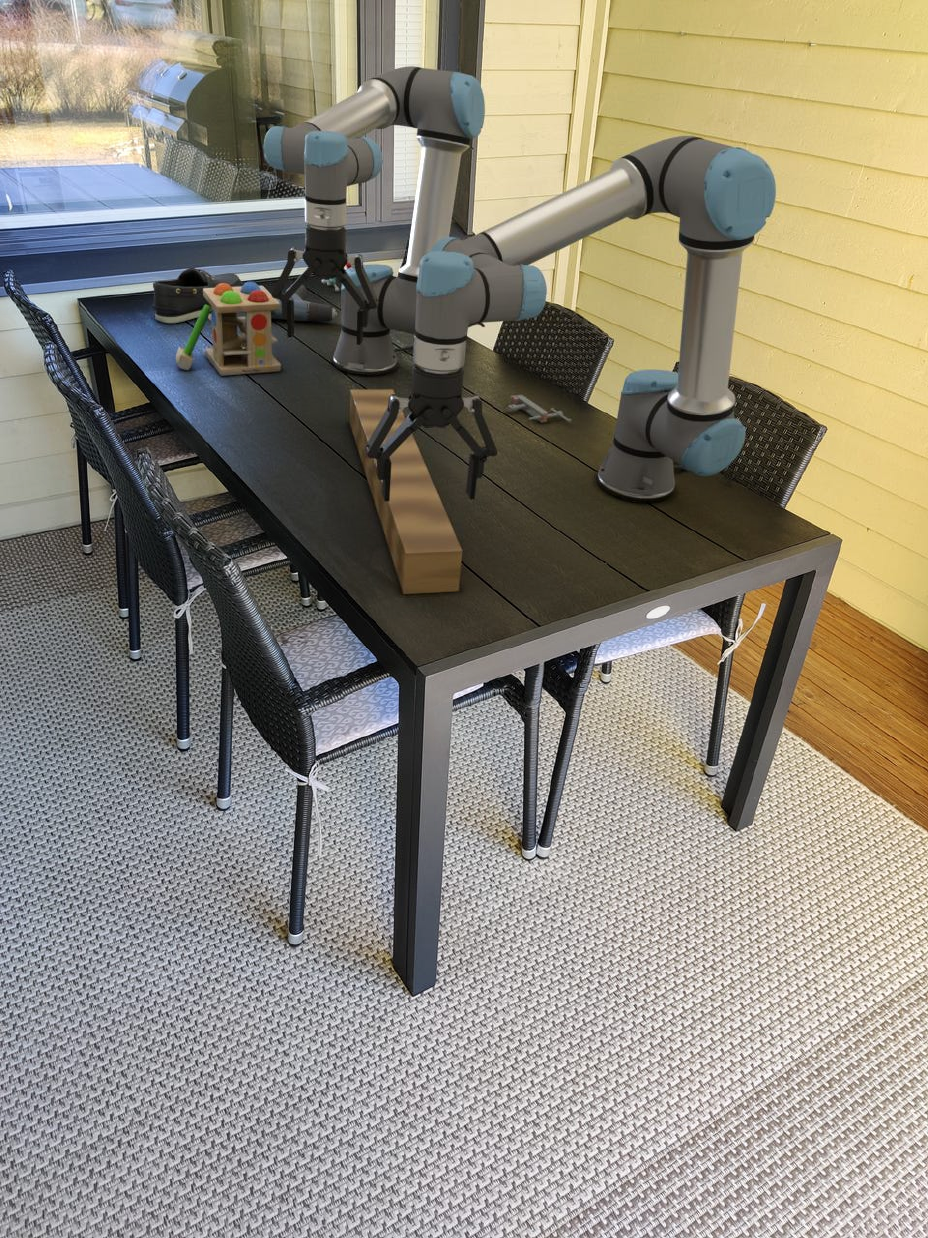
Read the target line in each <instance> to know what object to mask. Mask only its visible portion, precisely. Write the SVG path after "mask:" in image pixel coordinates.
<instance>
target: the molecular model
mask: <svg viewBox="0 0 928 1238" xmlns="http://www.w3.org/2000/svg"><path fill="white" fill-rule="evenodd" d="M345 267H346V269H345V270H347V269H349V268H351V264H350V263H347V264H346V266H345ZM336 280H337V277H335V278H333V279H321V283H322V284H327V286H329V287H330V286H332V285H333V287H334V291H335V292H337V293H338V292H339V291H340V287H339V286H337V284H336V283H337V282H336Z"/></svg>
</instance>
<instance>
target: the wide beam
mask: <svg viewBox="0 0 928 1238" xmlns="http://www.w3.org/2000/svg"><path fill="white" fill-rule="evenodd" d="M391 394H395V395H396V393H395V391H394V389H393V388H391V389H390V388H389V389H378V388H377V389H350V390H349V425H350V428H351V433H352V435H353V438H354V441H355V444H356V449H357V451H358V454H359V458H360V461H361V464H362V466H363V470H364V473H365V476H366V479H367V483H368V486H369V489H370V493H371V495H372V499H373V503H374V505H375V508H376V511H377V514H378V518H379V521H380V525H381V527H382V530H383V534H384V535H385V541H386V544H387V546H388V550H389V553H390V556H391V559H392V562H393V566H394V569H395V572H396V575H397V578H398V580H399V584H400V588H401V591H402V594H403V595H409V594H410V595H411V594H413V595H414V594H431V593H432V594H433V593H450V592H451V593H452V592H459V591H460V581H461V573H462V572H461V571H462V560H463V549H462V547H461V544H460V542H459V539H458V538H457V535H456V533H455V530H454V528H453V526H452V523H451V521H450V518H449V516H448V514H447V512H446V509H445V508H444V505H443V502H442V499H441V498H440V495H439V493H438V490H437V488H436V486H435V484H434V482H433V479H432V477H431V474H430V472H429V470H428V467H427V465H426V463H425V460H424V458H423V456H422V454H421V452H420V449H419V447H418V444H417V442H416V440H415V438H414V435H413V433H412V434H411V435H410V436H409V437H408V438H407V439H406V440H405V441H404V442H403V443H402V444H401V445H400V446H399V448H398V449H397V450H396V451H395V452H394V453H393V454H392V455H391V456H390V457H389V458H390V460H391V482H390V501H384V498H383V495H382V482H383V480H379V479H378V477H377V474H376V467H377V460H376V459H374V458H369V457H368V456H367V453H366V450H365V446H366V445H367V443H368V441H369V439H370V438H371V436H372V434H373V432H374V431H375V429H376V427H377V425H378V424H379V422H380V420H381V418H382V417H383V415H384V413H385V411H386V409H387V407H388V401H389V396H390V395H391ZM405 419H406V417H405V414H404V412H403V411H402V412H401V413H398V416H397V418H396V420H395V422H394V424H393V426H392V427H391V429H390V431H389V433H388V434H387V436H386V438H385V440H384V441H383V443H384V442H385V441H386V440H387V439H388V438H389V437H390V436H391V435H392V434H393V433H394V431H395V430H396V429H397V428H398V427H399V426H400V425H401V424H402V423H403V422H404V421H405ZM383 443H382V444H383Z"/></svg>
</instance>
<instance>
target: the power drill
mask: <svg viewBox="0 0 928 1238" xmlns="http://www.w3.org/2000/svg"><path fill="white" fill-rule="evenodd" d="M294 283H295V282H293V283H292V284H291V285H290V286H289V287H288V288H287V289H286V291H285V292H284V293H286V292H287V290H288V289H289V288H290V287H291V286H292V285H293V284H294ZM307 295H308V290H307V287H306V285H304V283H303V284H302V285H301V286H300V287H299V289H298V290H297V291H296V292H295V293H294V294H293V295H292V296H291V297H290V299H289V300H294V322H295V321H297V322H332V321H333V320H334V319H336V318H337V317H338V312H337V311H336V308H334V307H333V306H332V305H331V304H324V303H317V302H313V301H307V300H305V299H306V297H307ZM275 299H276V300H277V301H278V302H279V303H280V310H271V319H274V320H275V319H276V320H283V321H287V319H284V318H283V317H282V303H281V301H280V300H279V299H277V298H275Z"/></svg>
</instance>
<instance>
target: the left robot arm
mask: <svg viewBox="0 0 928 1238" xmlns="http://www.w3.org/2000/svg"><path fill="white" fill-rule="evenodd" d="M484 95H485V94H484V91H483V88H482V85H481V83H480V82H479V80H478V79H477V78H476V77H474V76H473V75H471V74H467V73H462V72H460V71H452V70H451V71H450V70H442V69H434V68H428V67H427V68H426V67H420V66H413V65H412V66H401V67H397V68H394V69H391V70H388V71H384V72H382V73H380V74H377V75H375V76H373V77H371V78H369V79H367V80H365V81H364V82H363V83H362V84H361V85H360V86H359V88H358V90H357V92H356V93H353V94H351V95H350V96H348V97H346V98H345V99H343V100H341V101H339V102H337V103H335V104H334V105H332V106H330V107H329V108H327V109H325V110H323V111H321V112H319V113H317V114H316V115H314V116H312V117H311V118H309V119H307V120H305V121H304V122H301V123H300V124H297V125H295V126H293V127H287V126H284V125H283V126H277V125H274V126H271V128H269V130H268V131H267V132H266V134H265V136H264V140H263V151H264V158H265V160H266V161H265V162H267V164H268V165H269V166H270V167H271V168H273V169H276V170H280V171H283V172H285V173H294V174H300V175H304V190H305V191H304V222H305V223H306V226H305V227H304V251H303V250H299V249H297V248H296V247H294V246H293V247H291V248H290V250H288V252H287V259H286V264H285V266H284V267H283V270H282V272H281V274H280V276H279V277H278V280H277V282H276V284H275V286H274V288H273V290H272V292H271V295H272V297H273V298H275V299H279V300H280V301H281V303H282V317H283V318H284V319H287V320H286V327H287V328H286V332H287V333H286V334H287V335H286V336H287V338H293V336H294V335H295V320H294V300H289V299H290V297H291V296H292V295H293V294H294V293H295V292H296V291H297V290H298V289H299V287H300V286H301V285H302V284H303V285H304V283H305V282H306V281H307V280H308V279H309V278H310V276H311V275H313V276H315V278H318V279H319V278H320V279H321V278H325V279H327V280H330V279H333V278H335V277H337V278H336V280H338V282H339V283H341V287H340V290H341V313H340V314H341V316H340V317H341V319H340V321H341V324H340V325H341V326H340V329H341V330H340V336H339V338H338V341H337V344H336V348H335V350H334V352H333V361H332V362H333V363H332V364H333V366H334V367H335V368H337V369H338V370H339V371H342V372H344V373H347V374H352V375H356V376H380V375H381V376H382V375H386V374H389V373H391V372H393V371H395V369H396V368H397V361H398V359H397V354H396V353H399V352H405V351H410V350H414V345H410V346H404V347H398V348H395V347H394V343H393V341H392V337H391V336H392V335H391V330H393V331H398V332H402V333H406V334H411V335H415V320H416V301H417V290H416V285H417V280H418V272H419V267H420V261H421V259H422V257H423V256H424V255H426V254H428V253H430V251H431V249H432V248H433V246H434V245H435V244H436V243H437V242H438V241H439V240H441V239H443V238H446V237H450V233H451V226H452V225H451V224H452V219H453V212H454V206H455V200H456V199H455V198H456V192H457V186H458V180H459V173H460V167H461V158H462V155H463V153H465V152H466V151H467V150H468V149H469V148H470V145H471V139H476V138H478V137H479V136H480V135H481V132H482V129H483V128H484V123H485V115H486V102H485V96H484ZM390 126H399V127H406V128H411V129H412V128H413V129H417V130H416V140H417V141H418V143H419V144H420V147H421V152H420V153H421V154H420V160H419V168H418V175H417V181H416V182H417V183H416V190H415V197H414V203H413V212H412V219H411V228H410V235H409V241H408V249H407V257H406V263H405V264H404V265H403V266H401V267H400V268H399V269H398V274H397V276H395V275H394V273H395V272H394V269H393V267H391V266H389V265H387V264H378V263H377V264H376V263H375V264H373V263H372V264H371V263H370V264H369V263H368V264H364V257H363V255H362V254H359V253H358V254H356V255H348V253H347V229H346V227H345V226H346V224H347V207H348V205H347V204H348V203H347V190H348V187H349V186H355V185H357V184H358V185H359V184H364V183H367V182H369V181H370V180H373V179H375V178H376V177H378V175H379V174H380V173H381V171H382V168H383V163H384V157H383V152H382V150H381V148H380V146H379V145H378V143H377V141H374V139H372V138H369V137H364V136H365V135H368V134H369V133H371V132H372V131H374V130H375V129H376V130H384V129H387V128H389V127H390ZM301 259H302V260H303V262H304V263H305V264H306V266H307V268H306V269H305V270H304V271H303V272H302V273H301V275H299V277H298V278H297V279H296V280H295V281H294V282H293V283H294V284H293V283H292V284H293V285H292V284H291V285H292V286H291V285H290V286H291V287H290V286H289V287H290V288H289V287H288V288H289V289H288V288H287V289H288V290H287V289H286V291H287V292H286V291H285V292H286V293H285V292H284V291H283V289H284V287H285V285H286V283H287V282H288V279H289V278H290V275H291V273H292V271H293V270H294V267H295V265H296V263H298V262H299V261H301ZM347 263H350V264H351V268H349V269H347V268H346V269H347V270H346V269H345V267H346V264H347ZM284 319H283V320H284ZM473 326H481V327H482V328H486V325H485V323H471V324H469V325H468V329H470V327H473Z"/></svg>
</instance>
